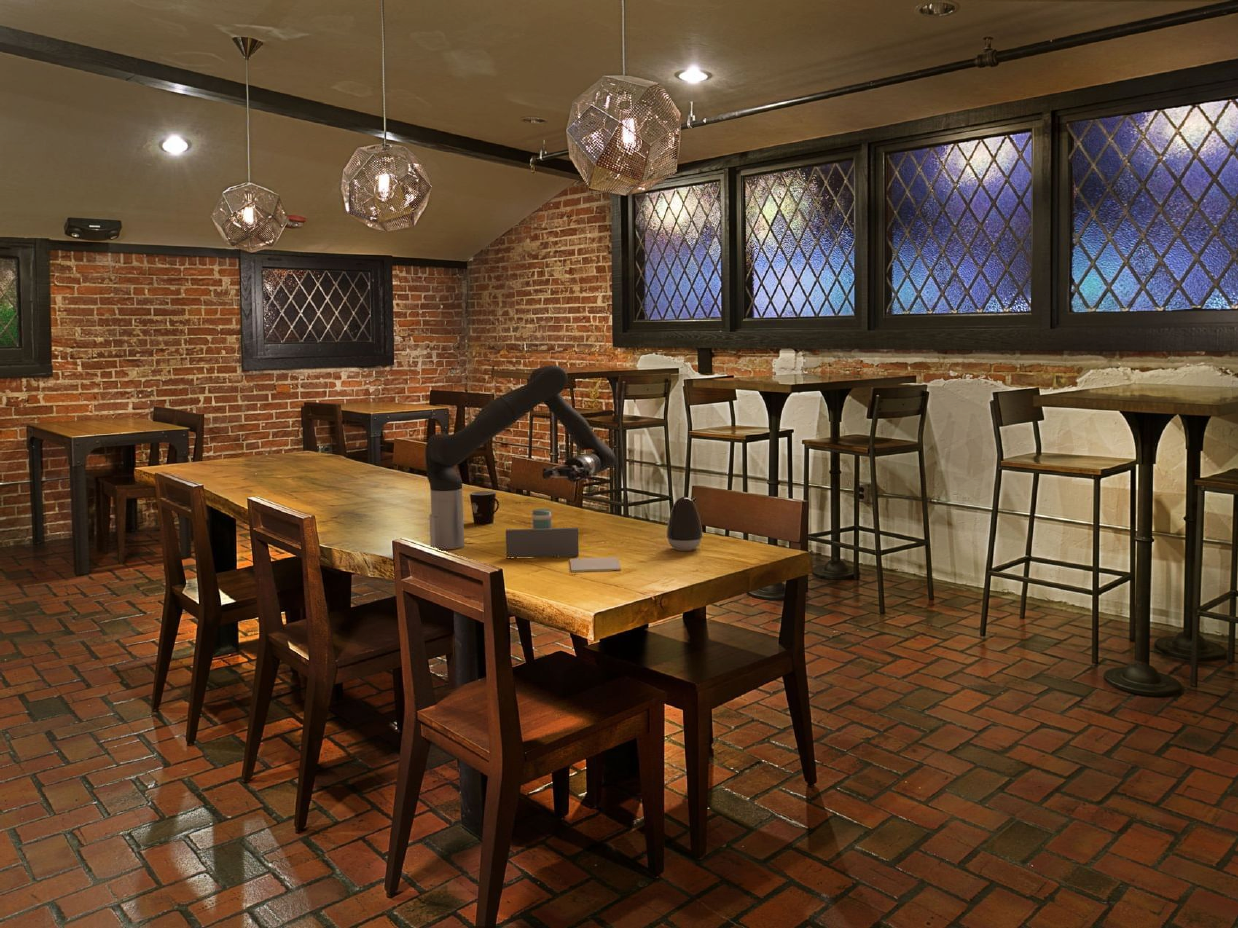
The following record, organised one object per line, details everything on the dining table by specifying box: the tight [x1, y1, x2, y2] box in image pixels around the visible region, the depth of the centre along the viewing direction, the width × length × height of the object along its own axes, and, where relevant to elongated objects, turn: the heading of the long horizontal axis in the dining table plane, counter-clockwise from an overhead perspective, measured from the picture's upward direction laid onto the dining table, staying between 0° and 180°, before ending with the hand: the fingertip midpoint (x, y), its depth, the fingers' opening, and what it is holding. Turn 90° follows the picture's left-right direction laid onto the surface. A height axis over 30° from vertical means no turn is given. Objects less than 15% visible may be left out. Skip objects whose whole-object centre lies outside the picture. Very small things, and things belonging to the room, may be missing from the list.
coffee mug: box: [469, 490, 500, 526], centre depth 327 cm, size 12×9×10 cm
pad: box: [569, 557, 622, 573], centre depth 266 cm, size 13×13×1 cm
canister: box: [531, 508, 552, 529], centre depth 283 cm, size 5×5×12 cm
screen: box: [505, 527, 580, 558], centre depth 276 cm, size 20×2×8 cm, turn 94°
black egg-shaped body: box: [666, 496, 703, 552], centre depth 284 cm, size 10×10×15 cm
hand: (557, 475), depth 291 cm, fingers open, 8 cm apart
